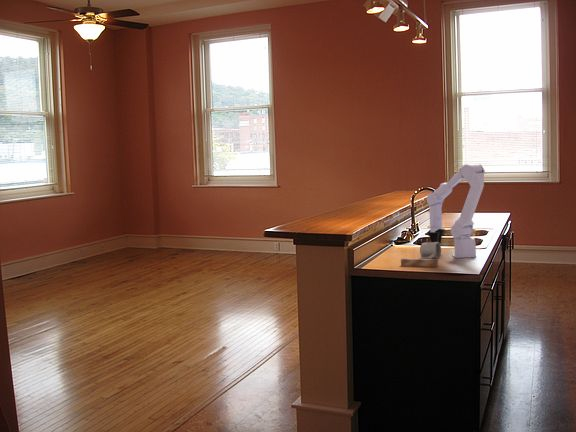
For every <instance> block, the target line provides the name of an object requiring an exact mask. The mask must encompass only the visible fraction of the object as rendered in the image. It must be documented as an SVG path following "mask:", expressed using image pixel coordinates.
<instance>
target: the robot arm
mask: <svg viewBox="0 0 576 432" xmlns="http://www.w3.org/2000/svg"><path fill="white" fill-rule="evenodd" d="M485 174H486V171H485V168H484V166H483V165H482V164H480V163H472V164H468V163H465V164H464V165H462V166H461V167H460V168H459V169H458V171H457V172H456V173H455V174H454V175H453V176H452V177H451V178H450V179H449V180H448V181H447V182H443V183H440V184H439V186H438V188H437V189H434V190H433V192H430V193H428V195H427V196H426V202H427V204H428V206H429V226H427V229H430V231H428V232H427V235H428V237H429V240H430V242H439V243H440V245H441V242H442V238H443V234H444V232H445V229H443V217H442V216H443V215H442V212H443V211H442V207H443V203H444V202H445V199H446V198H447V197H448V196H449V195H450V194H451V193H452V192H453V188H454V187H456V185H458V184H459V183H460V182H462V181H463V180H465V181H466V182H467V183H468V184H469V186H470V187H469V190H468V192H467V193H468V194H467V197H466V199H465V202H464V205H463V207H462V209H461V212H460V216H459V217H458V218H457V219H456V220H455V222H454V224H453V225H452V226H451V228H450V234H451V236H452V237H453V238H452V239H453V240H454V241H453V244H454V245H453V246H454V253H453V254H451V256H452V257H454V258H456V259H459V258H463V259H464V258H477V252H476V251H477V247H476V239H475V238H474V237H471V235H472V234H473V233H474V224H475V223H474V221H473V218H474V215H475V212H476V210H477V206H478V203H479V200H480V197H481V195H482V192H483V191H484V187H485V179H484V178H485V177H484V176H485Z"/></svg>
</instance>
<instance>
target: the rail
mask: <svg viewBox="0 0 576 432" xmlns="http://www.w3.org/2000/svg"><path fill="white" fill-rule="evenodd" d="M438 259H439V258H431V259H422V258H405V257H404V258H403V257H402V258H401V259H400V266H403V267H426V268H427V267H429V268H431V267H432V268H435V267H436V268H437V267H439V260H438Z"/></svg>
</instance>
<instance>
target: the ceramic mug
mask: <svg viewBox="0 0 576 432" xmlns="http://www.w3.org/2000/svg"><path fill="white" fill-rule="evenodd" d="M419 252H420V259H440V257H441V255H442V247H441V244H440V243H439V242H431V241H430V242H422V243H421V245H420V247H419Z"/></svg>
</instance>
